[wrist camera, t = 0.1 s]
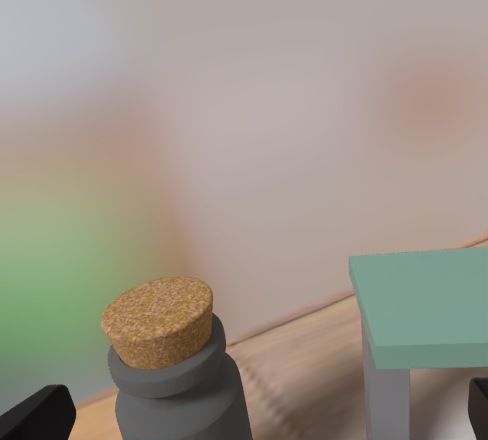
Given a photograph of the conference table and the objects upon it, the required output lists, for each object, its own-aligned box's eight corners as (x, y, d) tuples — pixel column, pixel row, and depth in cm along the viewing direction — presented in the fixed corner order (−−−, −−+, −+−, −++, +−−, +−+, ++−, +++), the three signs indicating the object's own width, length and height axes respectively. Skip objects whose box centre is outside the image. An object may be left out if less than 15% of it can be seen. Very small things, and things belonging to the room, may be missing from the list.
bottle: (280, 493, 22) (244, 271, 17) (247, 621, 17) (183, 358, 12) (194, 470, 24) (140, 267, 19) (142, 577, 19) (51, 338, 14)
